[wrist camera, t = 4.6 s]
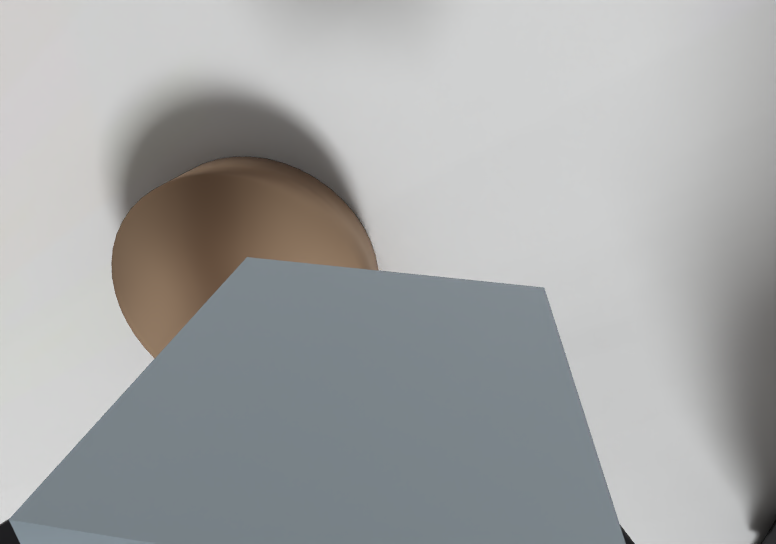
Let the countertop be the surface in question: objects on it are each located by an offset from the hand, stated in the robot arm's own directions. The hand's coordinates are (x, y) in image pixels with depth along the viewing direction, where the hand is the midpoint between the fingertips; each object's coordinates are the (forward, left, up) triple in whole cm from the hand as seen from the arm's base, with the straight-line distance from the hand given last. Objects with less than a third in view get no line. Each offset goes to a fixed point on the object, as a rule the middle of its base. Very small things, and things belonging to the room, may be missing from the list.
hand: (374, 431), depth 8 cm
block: (0, 0, -1) cm, 1 cm away
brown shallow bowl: (+7, +3, -11) cm, 13 cm away
